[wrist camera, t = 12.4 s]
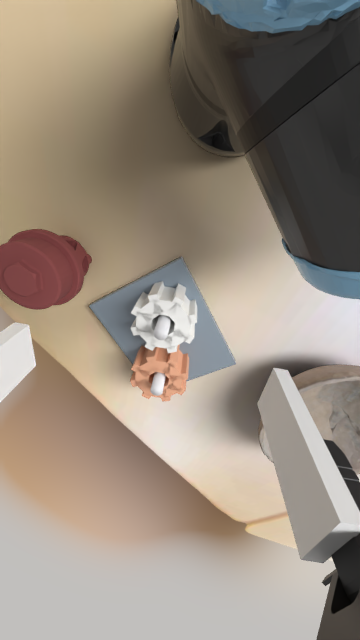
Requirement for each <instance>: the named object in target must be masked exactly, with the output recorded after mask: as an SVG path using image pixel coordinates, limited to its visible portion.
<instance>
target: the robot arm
mask: <svg viewBox="0 0 360 640" xmlns="http://www.w3.org/2000/svg"><path fill="white" fill-rule="evenodd" d="M176 1H177V9H178V19H177V22H176V25H175V29H174V33H173V37H172V43H171V50H170V63H169V74H170V85H171V91H172V96H173V100H174V104H175V108H176V111H177V114H178V116H179V119H180V121H181V123H182V125H183V127H184V128H185V130H186V132H187V133H188V134H189V136H190V137H191V138H192V139H193V140H194V141H195V142H196V143H197V144H198V145H199V146H200V147H202V148H203V149H205V150H207V151H209V152H211V153H213V154H216V155H220V156H227V157H234V156H241V155H245V157H246V159H247V161H248V163H249V166H250V168H251V170H252V172H253V174H254V176H255V179H256V181H257V183H258V185H259V187H260V190H261V192H262V194H263V196H264V198H265V200H266V203H267V205H268V207H269V209H270V211H271V213H272V216H273V218H274V220H275V222H276V224H277V226H278V229H279V231H280V233H281V235H282V237H283V238H282V243H283V246H284V248H285V250H286V252H287V253H288V254H289V255H290V256H291V258H292V259H293V260H294V262H295V264H296V266H297V268H298V270H299V271H300V273H301V275H302V277H303V278H304V279H305V280H306V281H308V282H309V283H310V284H311V285H312V286H313V287H315V288H317V289H318V290H320V291H323V292H325V293H328V294H331V295H335V296H339V297H344V298H351V299H360V0H176ZM35 366H36V362H35V357H34V351H33V345H32V339H31V334H30V328H29V325H27V324H21V323H16V322H14V323H13V324H11V325H10V326H8V327H7V328H5V329H4V330H3V331H1V332H0V402H1V401H2V400H3V399H4V398H5V397H6V396H7V395H8V394H9V393H10V392H11V391H12V390H13V389H14V388H15V386H17V385H18V384H19V382H20V381H21V380H22V379H23V378H24V377H25V376H26V375H27V374H28V373H29V372H30V371H31V370H32V369H33V368H34V367H35ZM257 405H258V408H259V412H260V415H261V419H262V423H263V426H264V430H265V433H266V437H267V440H268V444H269V448H270V451H271V455H272V458H273V462H274V466H275V469H276V473H277V476H278V480H279V484H280V487H281V491H282V494H283V498H284V501H285V505H286V509H287V512H288V516H289V519H290V523H291V527H292V530H293V534H294V537H295V541H296V544H297V548H298V552H299V555H300V559H301V560H307V561H313V562H319V563H324V562H325V561H326V560H328V559H329V558H330V557H331V556H332V558H333V561H334V564H335V567H336V569H335V570H334V571H333V572H331V573H330V574H329V575H327V576H326V577H325V579H324V580H323V582H322V583H323V584H324V585H325V586H326V585H328V584H329V583H330V587H329V592H328V595H327V599H326V604H325V607H324V611H323V615H322V620H321V624H320V628H319V632H318V636H317V640H360V482H359V478H358V477H357V475H356V473H355V471H353V470H352V466H351V464H350V463H349V461H348V459H347V457H346V455H345V454H344V453H343V452H342V450H341V449H340V448H339V447H338V446H337V445H336V444H335V443H334V442H333V441H331V440H325V439H323V438H322V436H321V435H320V433H319V431H318V429H317V427H316V425H315V423H314V421H313V419H312V417H311V415H310V413H309V411H308V409H307V407H306V405H305V403H304V401H303V399H302V397H301V395H300V393H299V391H298V389H297V387H296V385H295V383H294V381H293V380H292V378H291V376H290V374H289V372H288V370H284V369H278V368H273V370H272V372H271V375H270V377H269V379H268V381H267V383H266V386H265V388H264V390H263V392H262V394H261V397H260V399H259V401H258V403H257Z"/></svg>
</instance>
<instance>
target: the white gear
mask: <svg viewBox="0 0 360 640" xmlns="http://www.w3.org/2000/svg"><path fill="white" fill-rule="evenodd" d="M185 291H186V287H184V286H182V285H180V284H179V283H178V285H177V287H176V288H172V287H165V286H164V283H163V281H161V282H157V283H154V285H153V287H152V289H151V291H150V293H149V294H146V293H144V292H143V293H142V294H141V296H140V298H139V299H138V301H137V303H136V305H135V306H134V308H133V310H132V312H131V314H133V315H135V316H136V318H135V320H134V322H133V324H132V326H131V331H132V333H133V335H134V336H135V335H140V336H141V337H142V338H143V339H144V340H145V341H146V344H145V347H146V348H148V349H150V350H152V351H153V349H154V348H155V347H160V348H167V351H168V353H172V352H177V347H178V345H179V344H181V343H182V342H184V341H185V342H187V343H189V344H190V343H191V341H192V340H193V339H194V333H195V323H197V304H196V300H189V299H188V298H187V296H186V295H185ZM159 315H165V316H169V317H170V318H171V324H170V328H169V332H168V336H167V338H166V339H164V340H158V339H156V338H155V337H154V330H155V327H156V324H157V321H158V318H159Z"/></svg>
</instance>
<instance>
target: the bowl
mask: <svg viewBox="0 0 360 640" xmlns="http://www.w3.org/2000/svg"><path fill="white" fill-rule="evenodd" d="M292 380H293V381H294V383H295V385H296V387H297V389H298V391H299V393H300V395H301V397H302V399H303V401H304V403H305V405H306V407H307V409H308V411H309V413H310V415H311V417H312V419H313V421H314V423H315V425H316V427H317V429H318V431H319V433H320V435H321V436H322V438H323V439H325V440H331V441H333V442H334V443H335V444H336V445H337V446H338V447H339V448H340V449H341V450H342V452H343V453H344V454H345V455H346V457H347V459H348V461H349V463H350V464H351V466H352V470H353V471H355V473H356V475H358V474H360V366H352V365H327V366H321V367H316V368H313V369H310V370H307V371H304V372H302V373H300V374H298V375H296V376H294V377H292ZM258 436H259V442H260V446H261V449H262V451H263V453H264V455H266V456H267V457H268V459H269V460H270V461H271V462H273V458H272V455H271V451H270V448H269V444H268V440H267V437H266V433H265V430H264V426H263V423H262V419H261V420H260V424H259V428H258ZM273 463H274V462H273Z"/></svg>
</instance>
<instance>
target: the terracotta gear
mask: <svg viewBox="0 0 360 640" xmlns="http://www.w3.org/2000/svg"><path fill="white" fill-rule="evenodd" d="M179 346H180V344H179V345H178V347H177V352H172V353H168V351H167V348H160V347H155V348H154V349H153V351H152V350H150V349H148V348H146V347H144V346H141V347H140V349H139V351H138V353H137V356H136V358H135V361H134V363H133V366H132V368H131V370H133V371H134V372H133V374H132V377H131V380H130V382H131V384H132V386H133V387H135V386H138V387H139V388H140V389H141V390H142V391H143V394H142V396H144V397H146V398H148V399H149V398H150V397H151V396H154V397H160V398H161V399H162V401H170V397H171V395H174V394H176V393H178V394H180V395H182V394H183V393H184V391H185V390H186V380H188V371H189V356H188V353H187V354H182V352H181V351H180V350H179ZM155 372H159V373H164V374H165V375H166V377H165V383H164V388H163V393H162V394H161V395H159V396H156V395H153V394H152V393H151V391H150V390H151V386H152V382H153V378H154V374H155Z"/></svg>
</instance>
